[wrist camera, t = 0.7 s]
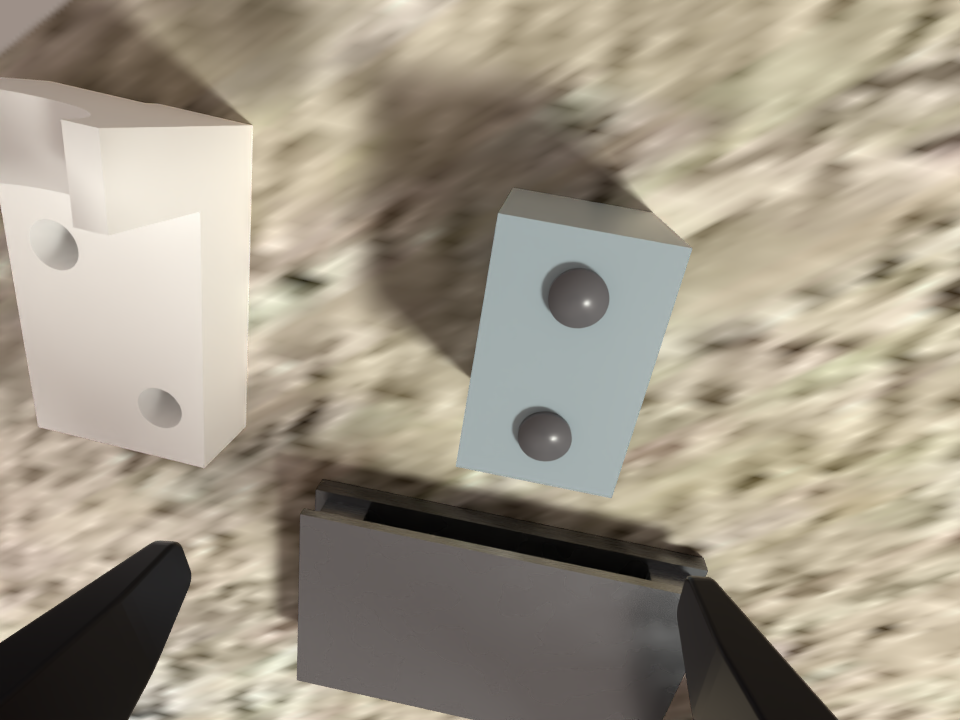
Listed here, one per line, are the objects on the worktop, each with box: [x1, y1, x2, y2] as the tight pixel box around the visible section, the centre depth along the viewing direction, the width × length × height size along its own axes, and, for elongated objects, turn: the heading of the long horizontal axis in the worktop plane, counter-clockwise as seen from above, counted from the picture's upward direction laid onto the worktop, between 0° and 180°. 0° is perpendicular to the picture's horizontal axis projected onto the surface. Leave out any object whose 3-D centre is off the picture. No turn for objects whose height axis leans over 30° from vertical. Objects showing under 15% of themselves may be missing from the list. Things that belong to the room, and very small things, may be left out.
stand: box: [297, 479, 708, 720], centre depth 26 cm, size 18×11×2 cm, turn 81°
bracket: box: [0, 77, 253, 468], centre depth 19 cm, size 13×7×8 cm, turn 169°
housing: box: [456, 188, 692, 498], centre depth 18 cm, size 5×8×6 cm, turn 171°
